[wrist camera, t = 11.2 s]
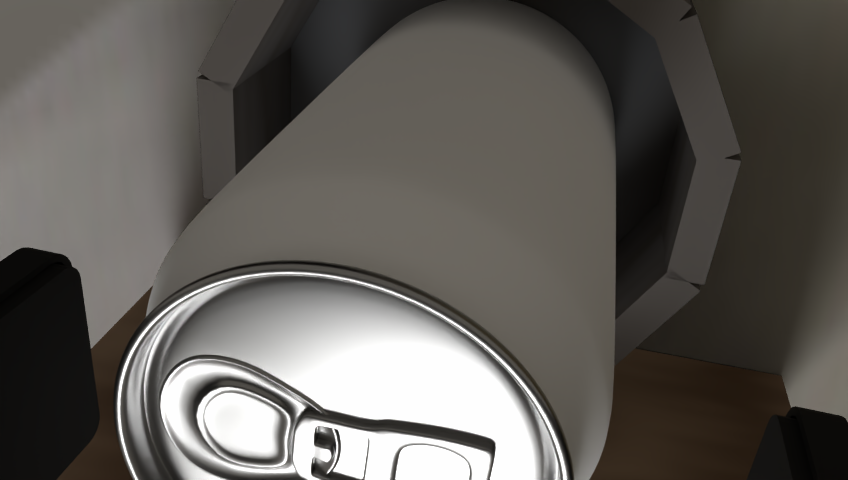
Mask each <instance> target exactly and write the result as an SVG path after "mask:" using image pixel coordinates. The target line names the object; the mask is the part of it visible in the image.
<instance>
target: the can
mask: <svg viewBox="0 0 848 480" xmlns="http://www.w3.org/2000/svg"><path fill="white" fill-rule="evenodd" d="M615 284H616V143H615V121H614V112H613V107H612V102H611V98H610V94H609V91H608V88H607V85H606V83H605V80H604V78H603V76H602V73H601V71H600V70H599V68H598V66H597V64H596V63H595V61H594V59H593V58H592V56H591V55H590V54H589V52H588V51H587V50H586V48H585V47H584V46H583V45H582V44H581V42H580V41H579V40H578V39H577V38H576V37H575V36H574V35H573V34H572V33H570V32H569V31H568V30H567V29H566V28H565V27H563V26H562V25H561V24H559V23H558V22H557V21H555V20H554V19H552V18H550V17H549V16H547V15H545V14H544V13H542V12H540V11H538V10H535V9H533V8H531V7H528V6H526V5H523V4H520V3H517V2H513V1H509V0H445V1H441V2H438V3H435V4H432V5H429V6H427V7H424V8H422V9H420V10H418V11H416V12H414V13H412V14H411V15H409V16H407V17H406V18H404V19H402V20H401V21H400V22H398V23H397V24H395V25H394V26H393V27H392V28H390V29H389V30H388V31H387V32H386V33H385V34H383V35H382V36H381V37H380V38H379V39H378V40H377V41H376V42H375V43H373V44H372V45H371V46H370V47H369V48H368V49H367V50H366V51H365V52H364V53H363V54H362V55H361V56H360V57H359V58H357V59H356V60H355V61H354V62H353V63H352V64H351V65H350V66H349V67H348V68H347V69H346V70H345V71H344V72H343V73H342V74H341V75H340V76H338V77H337V78H336V79H335V80H334V81H333V82H332V83H331V84H330V85H329V86H328V87H327V88H326V89H325V90H324V91H323V92H322V93H321V94H320V95H319V96H318V97H316V98H315V99H314V100H313V101H312V102H311V103H310V104H309V105H308V106H307V107H306V108H305V109H304V110H303V111H302V112H301V113H300V114H299V115H298V116H297V117H296V118H295V119H294V120H293V121H292V122H291V123H289V124H288V125H287V126H286V127H285V128H284V129H283V130H282V131H281V132H280V133H279V134H278V135H277V136H276V137H275V138H274V139H273V140H272V141H271V142H270V143H269V144H268V145H267V146H266V147H265V148H264V149H263V150H262V151H261V152H260V153H258V154H257V155H256V156H255V157H254V158H253V159H252V160H251V161H250V162H249V163H248V164H247V165H246V166H245V167H244V168H243V169H242V170H241V171H240V172H239V173H238V174H237V175H236V176H235V177H234V178H233V179H232V180H231V181H230V182H229V183H228V184H227V185H226V186H225V187H224V188H223V189H222V190H221V191H220V192H219V193H218V194H217V195H216V196H215V197H214V198H213V199H212V200H211V201H210V202H209V203H208V204H207V205H206V206H205V207H204V208H203V209H202V211H201V212H200V213H199V214H198V215H197V216H196V217H195V218H194V219H193V220H192V221H191V222H190V224H189V225H188V226H187V227H186V228H185V230H184V231H183V232H182V234H181V235H180V236H179V238H178V239H177V241H176V242H175V243H174V245H173V246H172V248H171V249H170V251H169V252H168V254H167V256H166V257H165V259H164V261H163V263H162V265H161V267H160V269H159V271H158V274H157V276H156V279H155V282H154V285H153V288H152V291H151V295H150V298H149V302H148V307H147V313H146V318H145V319H144V320H143V321H142V322H141V324H140V325H139V326H138V328H137V329H136V330H135V332H134V334H133V335H132V337H131V338H130V340H129V342H128V344H127V346H126V348H125V350H124V353H123V355H122V358H121V360H120V363H119V367H118V370H117V375H116V379H115V386H114V396H113V410H114V422H115V429H116V434H117V438H118V442H119V446H120V449H121V452H122V455H123V458H124V461H125V463H126V466H127V468H128V470H129V473H130V475H131V477H132V479H133V480H589V479H590V478H591V476H592V474H593V472H594V470H595V468H596V466H597V464H598V462H599V459H600V457H601V454H602V451H603V448H604V445H605V441H606V437H607V433H608V427H609V422H610V416H611V410H612V400H613V382H614V355H615Z"/></svg>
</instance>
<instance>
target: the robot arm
mask: <svg viewBox="0 0 848 480" xmlns="http://www.w3.org/2000/svg"><path fill="white" fill-rule="evenodd" d="M99 420H100V412H99V405H98V397H97V390H96V383H95V376H94V369H93V362H92V355H91V348H90V340H89V333H88V326H87V319H86V312H85V305H84V298H83V291H82V284H81V277H80V274H79V272H78V270H77V269H75V268H73V267H72V265H71V262H70V260H69V259H68V258H67V257H66V256H64V255H62V254H57V253H53V252H48V251H43V250H38V249H33V248H21V249H19V250H16V251H15V252H13V253H12V254H10V255H9V256H8V257H6V258H5V259H3V260H2V261H0V480H57V479H58V477H59V476H60V475H61V474H62V473H63V472H64V471H65V470H66V468H67V467H68V466H69V465H70V464H71V463H72V462H73V461H74V459H75V458H76V457H77V456H78V455H79V454H80V453H81V452H82V450H83V449H84V448H85V447H86V446H87V445H88V444H89V443H90V441H91V440H92V439H93V437H94V435H95V433H96V431H97V429H98V426H99ZM747 480H848V422H847V420H846V418H844V417H842V416H839V415H834V414H829V413H825V412H820V411H815V410H810V409H805V408H800V407H796V406H795V407H792V408H791V409H790V410H789V411H788V413H787V415H786V417H785V416H780V415H772V417H771V418H770V419H769V422H768V424H767V426H766V429H765V432H764V434H763V437H762V440H761V442H760V445H759V448H758V450H757V453H756V456H755V458H754V461H753V464H752V467H751V469H750V472H749V475H748V477H747Z"/></svg>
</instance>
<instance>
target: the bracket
mask: <svg viewBox="0 0 848 480" xmlns="http://www.w3.org/2000/svg"><path fill="white" fill-rule="evenodd" d="M441 1H445V0H237V1H236V2H235V4H234V6H233V8H232V10H231V12H230V13H229V15H228V17H227V19H226V21H225V23H224V25H223V26H222V28H221V30H220V32H219V34H218V36H217V37H216V39H215V41H214V43H213V45H212V47H211V48H210V50H209V52H208V54H207V56H206V58H205V59H204V61H203V63H202V65H201V67H200V69H199V70H198V71H199V72H200V73H201V74H203V75H201V76H200V77H198V78H197V93H198V111H199V128H200V145H201V163H202V180H203V197H204V198H208V199H211V200H212V199H213V198H214V197H215V196H216V195H217V194H218V193H219V192H220V191H221V190H222V189H223V188H224V187H225V186H226V185H227V184H228V183H229V182H230V181H231V180H232V179H233V178H234V177H235V176H236V175H237V174H238V173H239V172H240V171H241V170H242V169H243V168H244V167H245V166H246V165H247V164H248V163H249V162H250V161H251V160H252V159H253V158H254V157H255V156H256V155H257V154H258V153H260V152H261V151H262V150H263V149H264V148H265V147H266V146H267V145H268V144H269V143H270V142H271V141H272V140H273V139H274V138H275V137H276V136H277V135H278V134H279V133H280V132H281V131H282V130H283V129H284V128H285V127H286V126H287V125H288V124H289V123H291V122H292V121H293V120H294V119H295V118H296V117H297V116H298V115H299V114H300V113H301V112H302V111H303V110H304V109H305V108H306V107H307V106H308V105H309V104H310V103H311V102H312V101H313V100H314V99H315V98H316V97H318V96H319V95H320V94H321V93H322V92H323V91H324V90H325V89H326V88H327V87H328V86H329V85H330V84H331V83H332V82H333V81H334V80H335V79H336V78H337V77H338V76H340V75H341V74H342V73H343V72H344V71H345V70H346V69H347V68H348V67H349V66H350V65H351V64H352V63H353V62H354V61H355V60H356V59H357V58H359V57H360V56H361V55H362V54H363V53H364V52H365V51H366V50H367V49H368V48H369V47H370V46H371V45H372V44H373V43H375V42H376V41H377V40H378V39H379V38H380V37H381V36H382V35H383V34H385V33H386V32H387V31H388V30H389V29H390V28H392V27H393V26H394V25H395V24H397V23H398V22H400V21H401V20H402V19H404V18H406V17H407V16H409V15H411V14H412V13H414V12H416V11H418V10H420V9H422V8H424V7H427V6H429V5H432V4H435V3H438V2H441ZM509 1H513V2H517V3H520V4H523V5H526V6H528V7H531V8H533V9H535V10H538V11H540V12H542V13H544V14H545V15H547V16H549V17H550V18H552V19H554V20H555V21H557V22H558V23H559V24H561V25H562V26H563V27H565V28H566V29H567V30H568V31H569V32H570V33H572V34H573V35H574V36H575V37H576V38H577V39H578V40H579V41H580V42H581V44H582V45H583V46H584V47H585V48H586V50H587V51H588V52H589V54H590V55H591V56H592V58H593V59H594V61H595V63H596V64H597V66H598V68H599V70H600V71H601V73H602V76H603V78H604V80H605V83H606V85H607V88H608V91H609V94H610V98H611V102H612V107H613V112H614V121H615V143H616V284H615V355H614V382H613V400H612V410H611V416H610V422H609V427H608V433H607V437H606V441H605V445H604V448H603V451H602V454H601V457H600V459H599V462H598V464H597V466H596V468H595V470H594V472H593V474H592V476H591V478H590V479H589V480H747V477H748V475H749V472H750V469H751V467H752V464H753V461H754V458H755V456H756V453H757V450H758V448H759V445H760V442H761V440H762V437H763V434H764V432H765V429H766V426H767V424H768V422H769V419H770V418H771V417H772V415H780V416H785V417H786V415H787V413H788V411H789V410H790V409H791V406H790V403H789V400H788V396H787V393H786V389H785V386H784V382H783V379H782V376H779V375H774V374H769V373H763V372H758V371H753V370H747V369H742V368H737V367H731V366H726V365H721V364H715V363H710V362H705V361H699V360H694V359H689V358H683V357H678V356H673V355H667V354H662V353H657V352H651V351H646V350H641V349H635V348H636V347H637V346H638V345H640V344H641V343H642V342H643V341H644V340H645V339H646V338H648V337H649V336H650V335H651V334H652V333H653V332H654V331H655V330H657V329H658V328H659V327H660V326H661V325H662V324H663V323H665V322H666V321H667V320H668V319H669V318H670V317H671V316H673V315H674V314H675V313H676V312H677V311H678V310H679V309H681V308H682V307H683V306H684V305H685V304H686V303H687V302H689V301H690V300H691V299H692V298H693V297H694V296H695V295H697V294H698V293H699V292H700V286H699V284H702V285H705V281H706V278H707V275H708V271H709V268H710V265H711V261H712V258H713V255H714V251H715V248H716V244H717V241H718V238H719V234H720V231H721V228H722V224H723V221H724V217H725V214H726V211H727V207H728V204H729V201H730V197H731V194H732V191H733V187H734V184H735V180H736V177H737V174H738V170H739V167H740V164H741V159H740V156H739V153H741V150H740V147H739V144H738V141H737V138H736V135H735V132H734V128H733V125H732V122H731V119H730V116H729V113H728V110H727V106H726V103H725V100H724V97H723V94H722V91H721V88H720V84H719V81H718V78H717V75H716V72H715V69H714V66H713V62H712V59H711V56H710V53H709V50H708V47H707V44H706V41H705V37H704V34H703V31H702V28H701V25H700V22H699V19H698V15H697V13H696V10H695V8H694V5H693V3H692V0H509ZM211 200H210V201H211ZM210 201H209V202H210ZM209 202H208V203H209ZM208 203H207V204H208ZM207 204H206V205H207ZM152 288H153V286H152V287H151V288H150V289H149V290H148V291H147V292H146V293H145V294H144V295H143V296H142V297H141V298H140V299H139V300H138V301H137V302H136V304H135V305H134V306H133V307H132V308H131V309H130V310H129V311H128V312H127V313H126V314H125V315H124V316H123V317H122V318H121V319H120V320H119V321H118V322H117V323H116V324H115V325H114V326H113V327H112V328H111V329H110V330H109V331H108V332H107V333H106V334H105V335H104V336H103V337H102V338H101V339H100V340H99V341H98V342H97V344H96V345H95V346H94V347H93V348H92V349H91V355H92V362H93V369H94V376H95V383H96V390H97V397H98V405H99V412H100V420H99V426H98V429H97V431H96V433H95V435H94V437H93V439H92V440H91V441H90V443H89V444H88V445H87V446H86V447H85V448H84V449H83V450H82V452H81V453H80V454H79V455H78V456H77V457H76V458H75V459H74V461H73V462H72V463H71V464H70V465H69V466H68V467H67V468H66V470H65V471H64V472H63V473H62V474H61V475H60V476H59V477H58V479H57V480H133V479H132V477H131V475H130V473H129V470H128V468H127V466H126V463H125V461H124V458H123V455H122V452H121V449H120V446H119V442H118V438H117V434H116V429H115V422H114V410H113V396H114V386H115V379H116V375H117V370H118V367H119V363H120V360H121V358H122V355H123V353H124V350H125V348H126V346H127V344H128V342H129V340H130V338H131V337H132V335H133V334H134V332H135V330H136V329H137V328H138V326H139V325H140V324H141V322H142V321H143V320H144V319H145V318H146V313H147V307H148V302H149V298H150V295H151V291H152Z"/></svg>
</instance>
